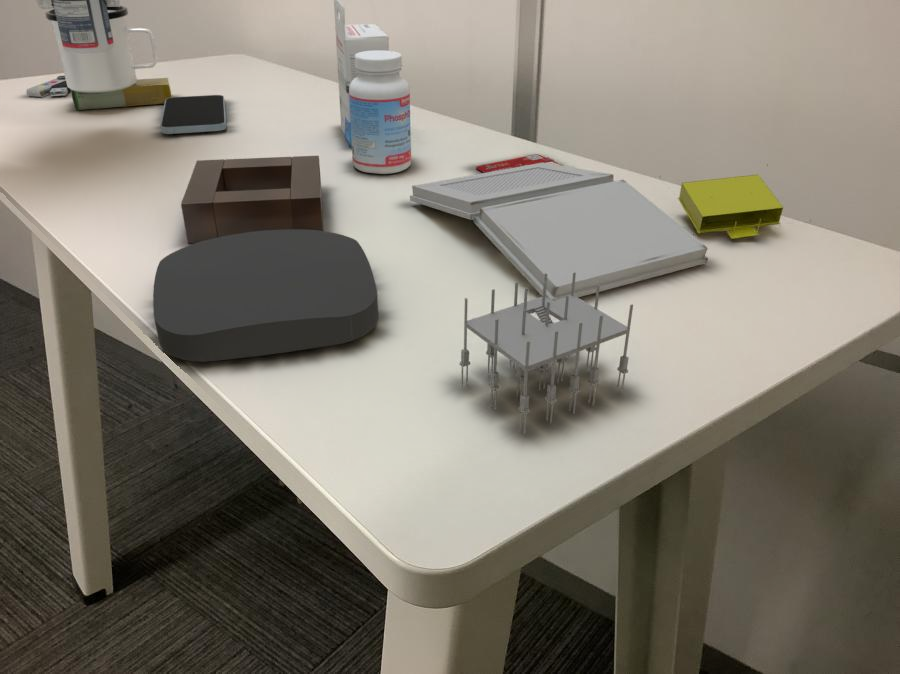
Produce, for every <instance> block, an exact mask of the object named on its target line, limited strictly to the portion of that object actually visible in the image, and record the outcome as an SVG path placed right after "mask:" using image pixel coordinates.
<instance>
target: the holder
mask: <svg viewBox="0 0 900 674" xmlns="http://www.w3.org/2000/svg"><path fill="white" fill-rule="evenodd" d="M321 178H322V177H321V165H320V156H319V155H299V156H297V155H295V156H294V155H293V156H275V157H273V156H272V157H271V156H270V157H248V158H225V159H202V160H201V159H200V160H199V159H198V160H196V162H195V164H194V168H193V170H192V173H191V176H190V178H189V181H188V184H187V187H186V189H185V192H184V195H183V197H182V201H181V203H180V207H181V212H182V219H183V223H184V230H185V235H186V240H187V244H195V243H198V242H201V241H205V240H209V239H213V238H218V237H222V236H228V235H233V234H240V233H246V232H255V231H265V230H285V229H301V230H319V231H325V229H324V213H323V212H324V211H323V210H324V209H323V193H322V192H323V191H322V190H323V189H322V179H321Z"/></svg>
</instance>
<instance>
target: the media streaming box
mask: <svg viewBox="0 0 900 674" xmlns="http://www.w3.org/2000/svg"><path fill="white" fill-rule="evenodd" d="M152 291H153V293H152V294H153V295H152V303H153V304H152V305H153V306H152V307H153V320H154V324H155V329H156V333H157V337H158V342H159V345H160V348H161V349H162V350H163V351H164V352H165V353H167V354H168V355H170V356H171V357H174V358H177V359H180V360H183V361H189V362H200V363H201V362H204V363H205V362H214V361H224V360H233V359H242V358H251V357H253V358H254V357H261V356H269V355H275V354H283V353H289V352H298V351H305V350H311V349H318V348H323V347H330V346H334V345H343V344H346V343H349V342H352V341H355V340H357V339H359V338H361V337H363V336H365V335H366V334H368V333H369V332H371V330H373V329H374V327H375V326H376V325H377V323H378V320H379V305H378V304H379V301H378V288H377V284H376V280H375V277H374V273H373V270H372V266H371V264H370V261H369V259H368V257H367V255H366V252H365V251H364V249H363V247H362V246H361V244H360V243H359V242H358V240H356V239H354V238H353V237H350V236H347V235H345V234H340V233H336V232H331V231H325V230H324V231H319V230H301V229H285V230H265V231H255V232H246V233H240V234H233V235H228V236H222V237H218V238H213V239H209V240H205V241H201V242H198V243H191V244H189V245H187V246H184V247H182V248H179V249H177V250H175V251H173V252H171V253H169V254H167V255H166V256H164V257H163V258H162V259H161V260H160V261H159V263H158V265H157V268H156V270H155V275H154V281H153V289H152Z"/></svg>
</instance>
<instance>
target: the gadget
mask: <svg viewBox="0 0 900 674" xmlns="http://www.w3.org/2000/svg"><path fill="white" fill-rule="evenodd" d="M561 165H562V164H561ZM561 165H555V164H549V163H537V164H532V165H526V166H521V167H515V168H509V169H504V170H498V171H493V172H487V173H484V172H482V173H477V174H472V175H466V176H460V177H454V178H448V179H443V180H437V181H432V182H426V183H420V184H415V185H412V186H411V189H412V194H411V195H409V201H410V202H413V203H416V204H419V205H423V206H426V207H429V208H432V209H434V210H435V209H436V210H437V211H442V212H444V213H448V214H450V215H453V216H457V217H460V218H463V219H466V220H469V221H473V223H474V224H475V226H476V227H478V229H479V230H480V231H481V232H482V233H483V234H484V235H485V236H486V237H487V238H488V239H489V241H490V242H491V243H492V244H493V245H494V246H495V247H496V248H497V249H498V250H499V251H500V253H502V255H504V257H505V258H506V259H507V260H508V261H509V262H510V263H511V264H512V265H513V267H515V269H516V270H517V271H518V272H519V273H520V274H521V275H522V276H523V277H524V278H525V279H526V281H528V283H529V284H530V285H531V286H532V287H533V288H534V289H535V290H536V291H537V292H538V294H540V295H541V297H542V296H543V284H544V275H545V273H547V286H546V297H548V298H550V299H551V300H553V301H555V300H558V299H561V298H564V297H566V295H568V296H570V295H571V289H572V278H573V273H574V272H576V277H575V287H574V296H576V297H578V298H581V297H585V296H588V295H592V294H596V290H597V285H599V286H600V289H599V293H601V292H605V291H607V290H612V289H616V288H619V287H622V286H626V285H629V284H633V283H638V282H641V281H645V280H648V279H652V278H656V277H661V276H663V275H667V274H671V273H675V272H678V271H682V270H686V269H690V268H692V267H697V266H701V265H704V264H707V263H708V260H709V257H708V256H707V255H706V253H707V251H708V249H709V248H708V246H706V245H705V244H704V243H703V242H701V241H700V240H699V239H698V238H696V237H695V235H694V236H693V234H691V232H689V231H687V229H685V228H684V227H683V226H682V225H681V224H679V223H678V222H676V221H675V220H674V219H673V218H672V217H671V216H670V215H668V214H667V213H665V212H664V211H663V210H662V209H660V208H659V207H658V206H657V205H656V204H654V203H653V202H652V201H651V200H650V199H648V198H647V197H646V196H645V195H643V194H642V193H641V192H639V190H637V189H636V188H635V187H633V185H631V184H630V183H629V182H627V181H626V180H624V179H619V180H614V174H612V173H607V172H600V171H595V170H589V169H583V168H577V167H572V166H565V165H563V166H561Z"/></svg>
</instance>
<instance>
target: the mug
mask: <svg viewBox="0 0 900 674" xmlns="http://www.w3.org/2000/svg"><path fill="white" fill-rule="evenodd" d="M107 11H108V16H109V21H110V26H111V31H112V37H113V42H114V47H113V49H111V50H108V51H104V52H99V53H90V54H75V53H69V52H66V51H65V50H64V48H63V44H62V40H61V36H60V31H59V27H58V22H57V18H56V14H55V9H54V8H51V9H48V10H46V11H45V12H44V16H45V19H46V20H48V21H51V24H52V27H53V32H54V36H55V40H56V44H57V49H58V53H59V58H60V61H61V65H62V69H63V73H64V76H65V78H66V83H67V87H68V88H70V90H74V91H77V92H87V93H97V92H109V91H116V90H121V89H125V88H128V87H131V86H132V85H134V84H135V83H136V82H137V79H138V78H137V73H136V70H139V69H142V70H143V69H151V68H154V67H155V66H156V65H157V64H158V54H157V45H156V42H155V37H154V33H153V32H152V30H151V29H149V28H145V27H127V22H126V16H128V15H129V13H130V12H129V8H128V7H126V6H124V5H121V4H120V7H116V6H115V7H107ZM129 33H146V34H148V36H149V41H150V45H151V50H152V51H151V52H152V58H153V62H152V63H134V58H133V57H134V56H133V52H132V47H131V43H130V38H129Z"/></svg>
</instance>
